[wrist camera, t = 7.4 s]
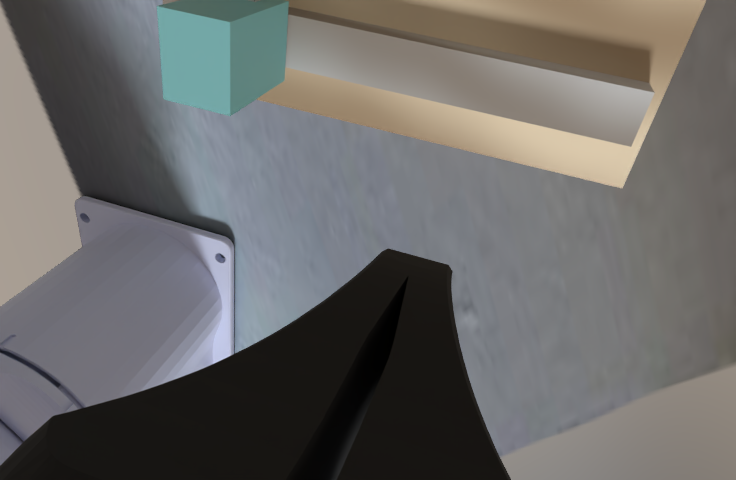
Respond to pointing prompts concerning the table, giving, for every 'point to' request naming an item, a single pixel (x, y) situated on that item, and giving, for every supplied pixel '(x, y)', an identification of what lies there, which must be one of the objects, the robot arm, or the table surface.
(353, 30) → the board
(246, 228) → the table surface
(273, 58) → the slider leg
